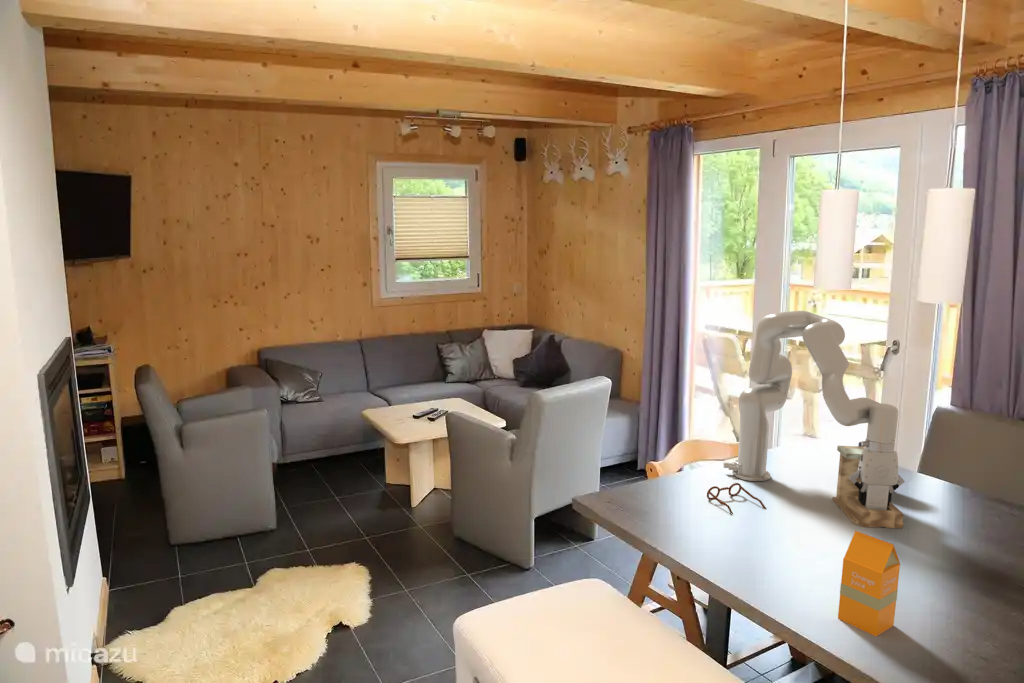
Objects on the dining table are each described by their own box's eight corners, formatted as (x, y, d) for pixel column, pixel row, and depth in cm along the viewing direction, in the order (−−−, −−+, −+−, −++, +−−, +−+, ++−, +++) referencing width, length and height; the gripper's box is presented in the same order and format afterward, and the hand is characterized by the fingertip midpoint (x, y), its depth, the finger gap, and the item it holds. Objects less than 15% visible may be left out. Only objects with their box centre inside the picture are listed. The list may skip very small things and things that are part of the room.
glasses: (738, 495, 236) (740, 481, 235) (766, 510, 224) (768, 495, 223) (705, 501, 231) (706, 486, 230) (732, 516, 219) (733, 501, 218)
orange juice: (875, 636, 156) (884, 549, 152) (837, 618, 163) (844, 534, 159) (894, 625, 160) (903, 540, 157) (855, 607, 167) (863, 526, 164)
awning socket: (856, 526, 212) (862, 467, 209) (832, 499, 232) (837, 445, 229) (906, 528, 211) (912, 469, 208) (877, 501, 231) (883, 446, 228)
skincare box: (880, 511, 219) (884, 473, 217) (886, 517, 215) (890, 478, 213) (859, 510, 219) (863, 472, 217) (865, 515, 215) (869, 477, 213)
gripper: (854, 448, 211) (848, 507, 214) (916, 451, 209) (909, 510, 212) (845, 440, 218) (839, 497, 221) (905, 443, 216) (898, 500, 220)
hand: (874, 503), depth 217 cm, fingers open, 6 cm apart
